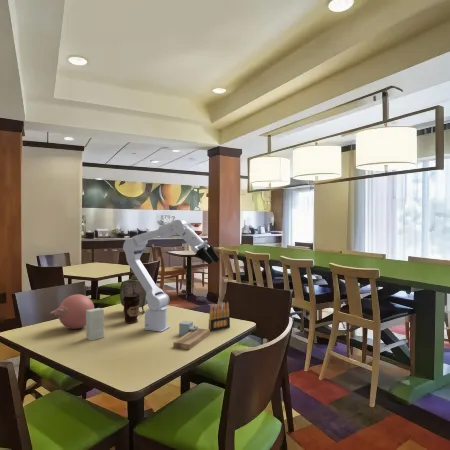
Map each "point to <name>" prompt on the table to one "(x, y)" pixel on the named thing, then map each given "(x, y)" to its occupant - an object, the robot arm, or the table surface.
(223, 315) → the ammunition clip
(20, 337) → the table surface
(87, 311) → the skincare box
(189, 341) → the board
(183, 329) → the grey stepped block
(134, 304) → the coffee cup
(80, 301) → the balloon
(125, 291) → the tabletop clock
